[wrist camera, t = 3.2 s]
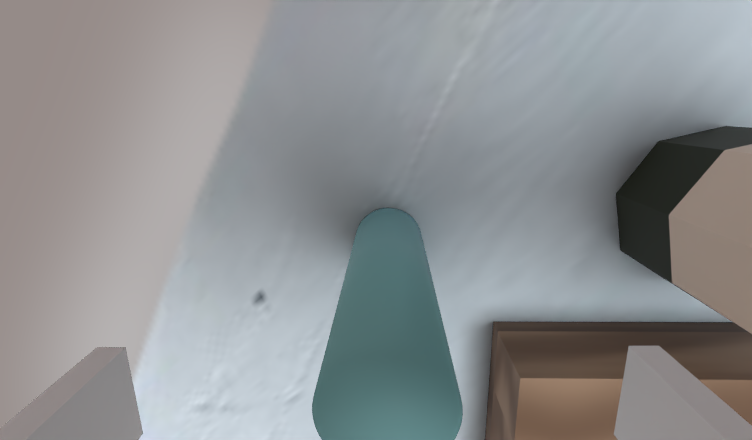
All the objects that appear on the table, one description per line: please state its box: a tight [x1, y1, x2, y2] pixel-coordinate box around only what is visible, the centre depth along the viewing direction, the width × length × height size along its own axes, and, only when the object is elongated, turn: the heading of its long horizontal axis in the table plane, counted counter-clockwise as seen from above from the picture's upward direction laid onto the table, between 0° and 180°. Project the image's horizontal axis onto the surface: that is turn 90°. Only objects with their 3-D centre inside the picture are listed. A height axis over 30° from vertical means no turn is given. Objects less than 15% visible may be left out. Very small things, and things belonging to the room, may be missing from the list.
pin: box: [312, 208, 463, 440], centre depth 16 cm, size 4×4×13 cm
